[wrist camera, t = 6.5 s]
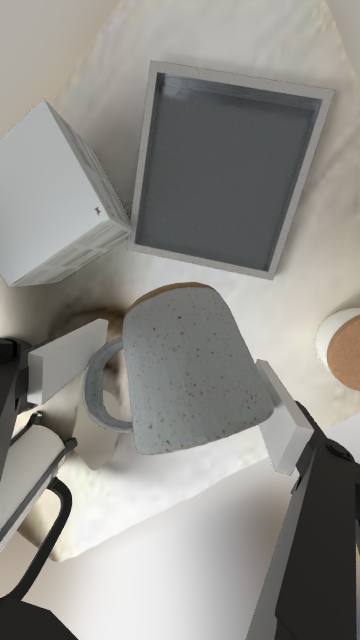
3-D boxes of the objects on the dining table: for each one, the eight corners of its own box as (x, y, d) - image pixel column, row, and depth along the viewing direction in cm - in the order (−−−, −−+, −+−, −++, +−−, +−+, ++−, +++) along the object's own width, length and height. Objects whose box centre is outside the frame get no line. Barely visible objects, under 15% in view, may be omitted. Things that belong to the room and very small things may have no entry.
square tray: (131, 250, 32) (126, 249, 30) (154, 75, 26) (150, 60, 24) (268, 279, 31) (272, 280, 29) (324, 103, 25) (335, 90, 23)
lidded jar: (367, 365, 32) (430, 403, 23) (297, 364, 34) (332, 399, 25) (381, 300, 30) (460, 314, 21) (305, 301, 31) (348, 315, 22)
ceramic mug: (206, 314, 18) (238, 259, 11) (240, 409, 15) (313, 415, 8) (83, 343, 16) (25, 296, 9) (97, 459, 13) (31, 527, 6)
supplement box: (92, 147, 29) (42, 92, 20) (138, 233, 31) (112, 218, 22) (11, 211, 32) (-63, 189, 23) (57, 283, 35) (6, 289, 26)
